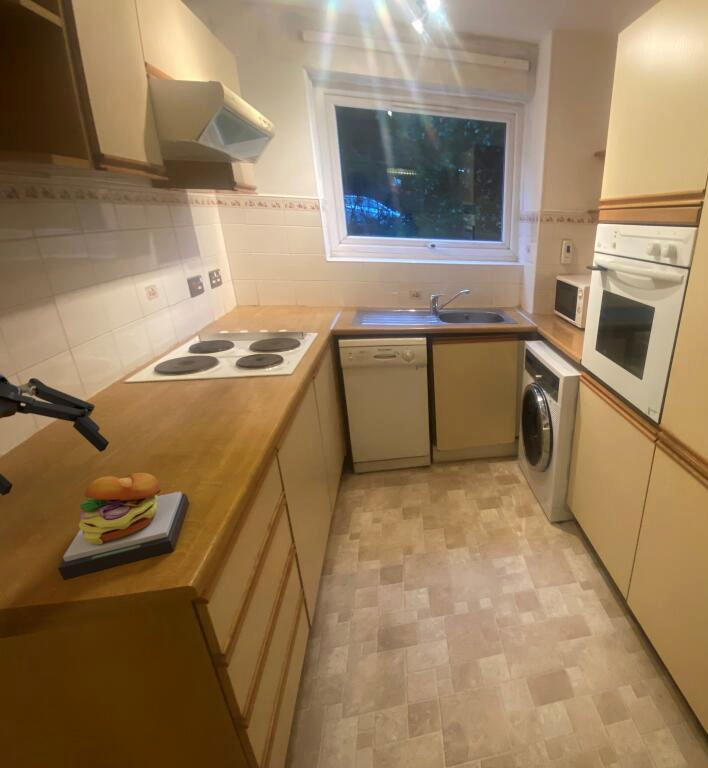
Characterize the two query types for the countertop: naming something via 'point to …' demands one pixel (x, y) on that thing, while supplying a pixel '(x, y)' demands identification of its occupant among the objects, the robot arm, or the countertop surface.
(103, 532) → the cheeseburger
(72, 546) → the kitchen scale
